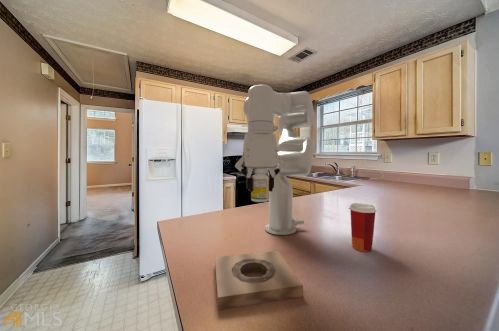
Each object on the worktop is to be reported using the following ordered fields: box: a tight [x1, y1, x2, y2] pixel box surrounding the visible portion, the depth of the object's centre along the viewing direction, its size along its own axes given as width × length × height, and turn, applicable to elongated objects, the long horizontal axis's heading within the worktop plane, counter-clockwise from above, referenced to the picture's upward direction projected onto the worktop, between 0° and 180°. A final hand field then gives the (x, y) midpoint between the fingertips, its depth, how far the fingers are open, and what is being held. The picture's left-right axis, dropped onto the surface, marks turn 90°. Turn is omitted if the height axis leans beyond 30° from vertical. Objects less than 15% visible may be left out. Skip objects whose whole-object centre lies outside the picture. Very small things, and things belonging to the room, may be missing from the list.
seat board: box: [214, 250, 304, 310], centre depth 49 cm, size 18×16×2 cm
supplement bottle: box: [250, 168, 269, 203], centre depth 60 cm, size 5×5×10 cm
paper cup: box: [348, 202, 378, 253], centre depth 65 cm, size 8×8×14 cm
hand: (260, 190), depth 60 cm, fingers closed on supplement bottle, 5 cm apart
